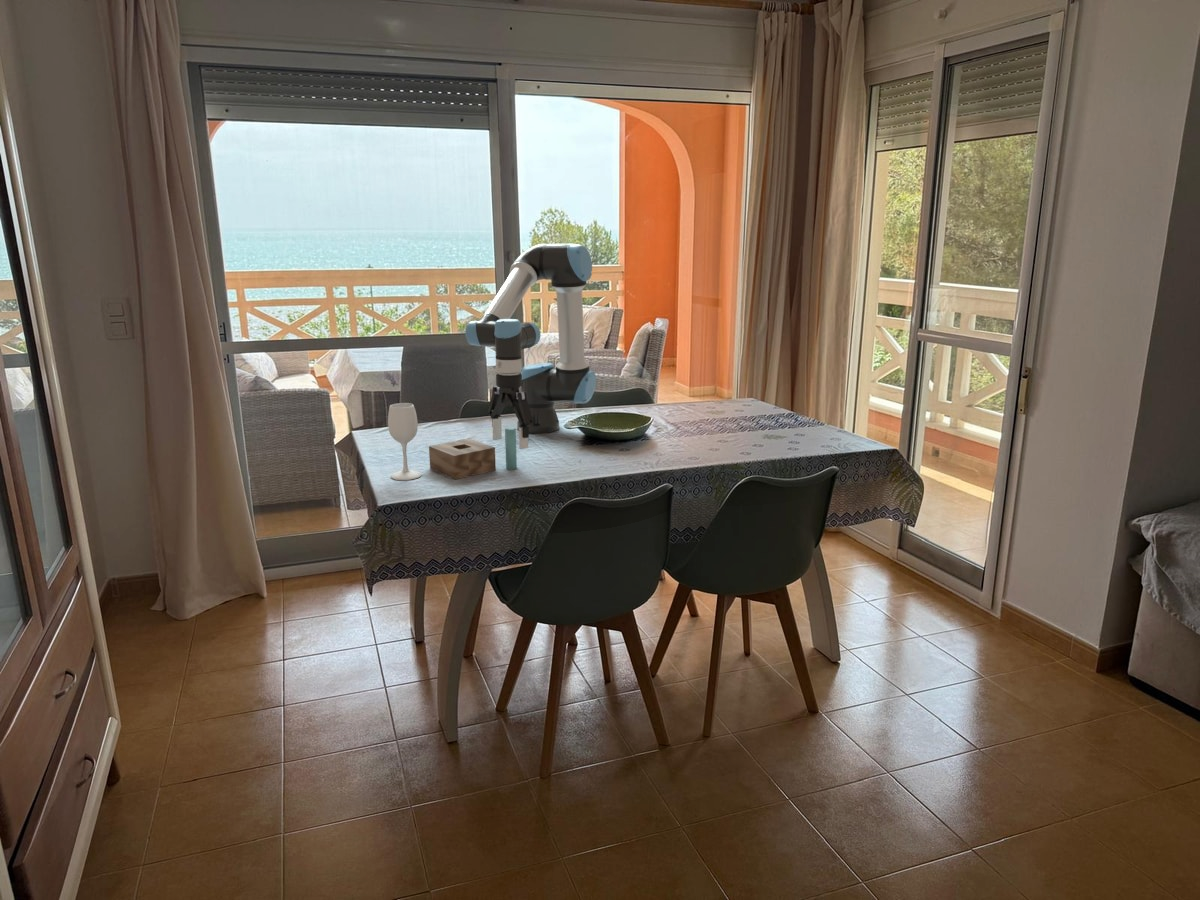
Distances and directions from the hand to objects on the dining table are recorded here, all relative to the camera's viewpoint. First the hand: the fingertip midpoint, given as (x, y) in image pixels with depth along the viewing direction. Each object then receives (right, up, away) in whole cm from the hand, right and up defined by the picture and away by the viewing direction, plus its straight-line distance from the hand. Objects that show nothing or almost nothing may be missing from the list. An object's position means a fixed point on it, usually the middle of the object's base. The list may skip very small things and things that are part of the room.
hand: (510, 443), depth 238 cm
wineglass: (-29, -10, -6) cm, 32 cm away
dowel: (0, -7, +2) cm, 8 cm away
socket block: (-14, -8, 0) cm, 16 cm away
